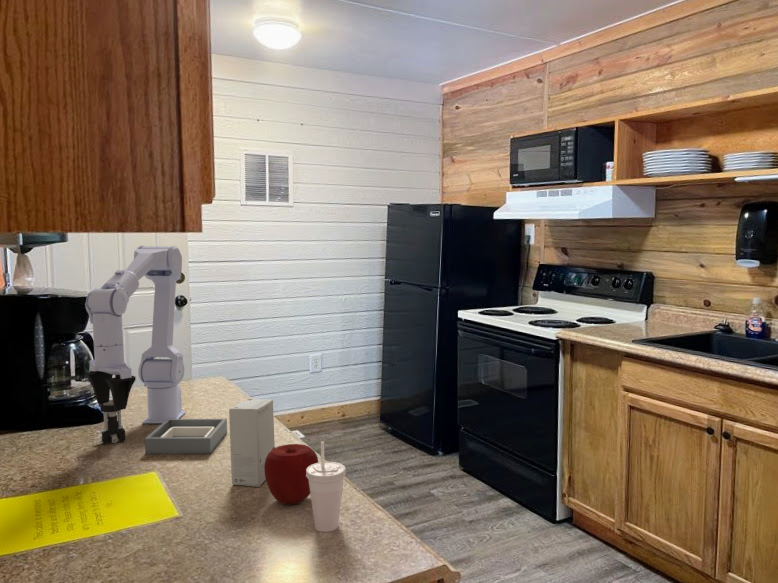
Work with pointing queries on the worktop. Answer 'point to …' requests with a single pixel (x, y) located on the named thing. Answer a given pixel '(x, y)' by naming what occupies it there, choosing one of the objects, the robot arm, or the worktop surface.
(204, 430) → the cream rectangular frame
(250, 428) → the skincare box
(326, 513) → the smoothie
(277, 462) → the apple
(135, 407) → the worktop surface
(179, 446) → the grey square tray
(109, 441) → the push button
